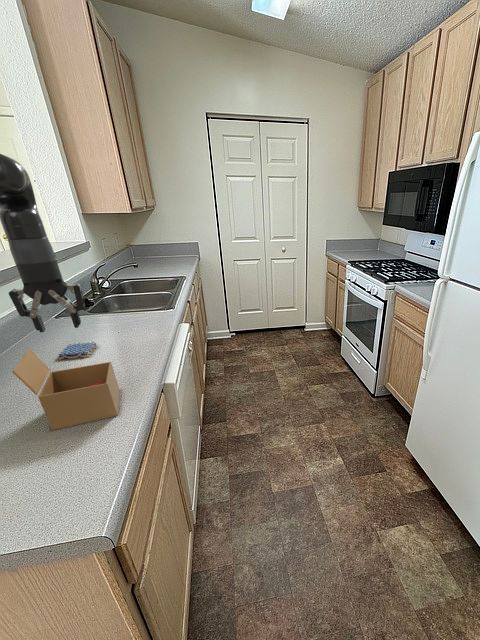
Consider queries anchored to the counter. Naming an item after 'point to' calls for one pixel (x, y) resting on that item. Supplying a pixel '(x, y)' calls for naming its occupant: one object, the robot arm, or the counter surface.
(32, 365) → the flap
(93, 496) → the counter surface
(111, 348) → the counter surface
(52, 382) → the carton
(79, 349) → the woven mat
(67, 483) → the counter surface
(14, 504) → the counter surface
